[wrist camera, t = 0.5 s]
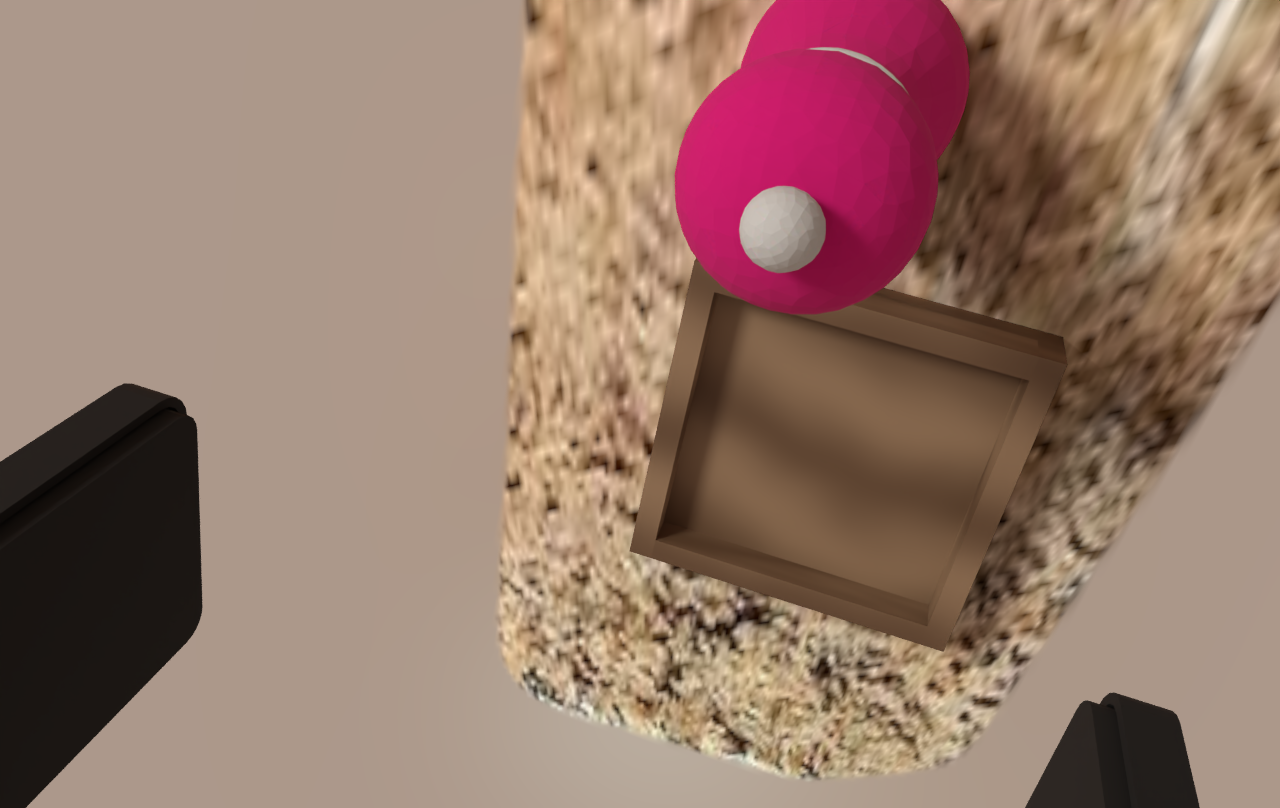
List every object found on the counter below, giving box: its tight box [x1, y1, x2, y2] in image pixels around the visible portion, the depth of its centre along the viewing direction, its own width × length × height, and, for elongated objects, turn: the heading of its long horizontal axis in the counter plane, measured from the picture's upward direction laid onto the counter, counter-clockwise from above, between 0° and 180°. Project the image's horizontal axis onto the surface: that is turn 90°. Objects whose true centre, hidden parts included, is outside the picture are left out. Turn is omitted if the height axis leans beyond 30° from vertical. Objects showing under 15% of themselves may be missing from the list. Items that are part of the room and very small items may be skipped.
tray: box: [630, 258, 1067, 651], centre depth 45 cm, size 14×14×2 cm
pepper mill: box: [675, 0, 970, 314], centre depth 30 cm, size 7×7×20 cm
